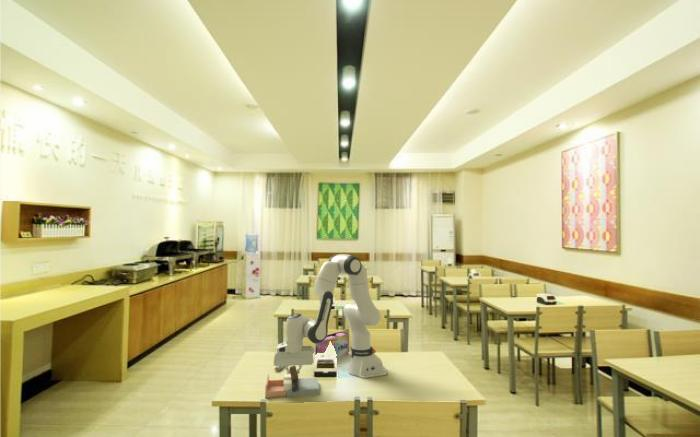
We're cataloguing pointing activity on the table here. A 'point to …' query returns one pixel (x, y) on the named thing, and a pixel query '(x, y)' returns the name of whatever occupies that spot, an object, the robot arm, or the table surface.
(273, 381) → the box
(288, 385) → the tile
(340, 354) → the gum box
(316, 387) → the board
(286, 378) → the tile
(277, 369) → the flamethrower
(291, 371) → the scraper
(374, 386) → the table surface
